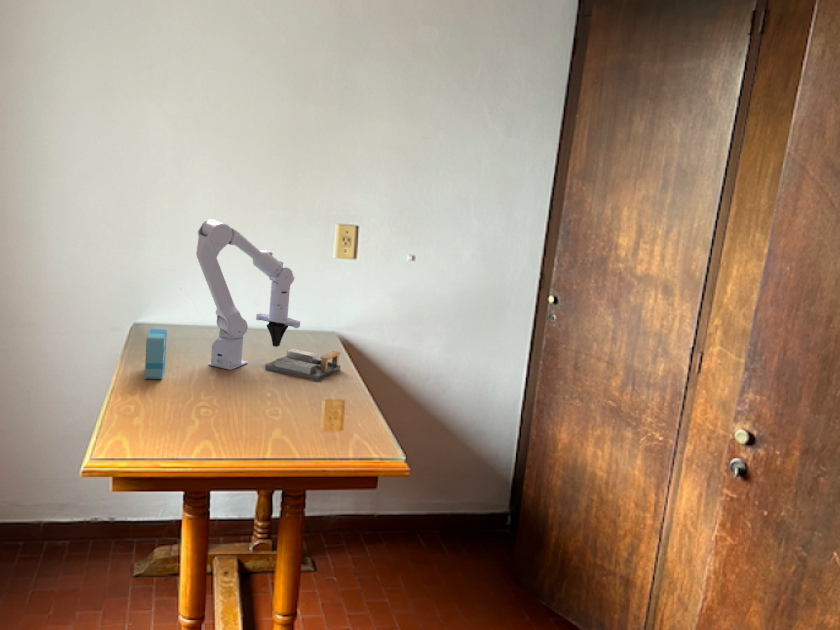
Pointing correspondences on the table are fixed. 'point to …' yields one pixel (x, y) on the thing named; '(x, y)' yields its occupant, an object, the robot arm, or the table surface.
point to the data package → (155, 353)
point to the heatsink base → (307, 367)
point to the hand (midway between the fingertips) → (276, 345)
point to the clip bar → (302, 356)
